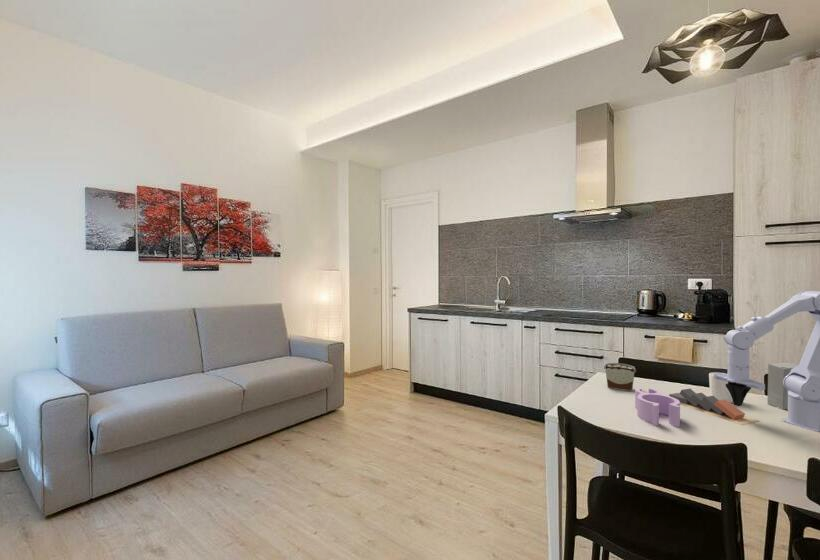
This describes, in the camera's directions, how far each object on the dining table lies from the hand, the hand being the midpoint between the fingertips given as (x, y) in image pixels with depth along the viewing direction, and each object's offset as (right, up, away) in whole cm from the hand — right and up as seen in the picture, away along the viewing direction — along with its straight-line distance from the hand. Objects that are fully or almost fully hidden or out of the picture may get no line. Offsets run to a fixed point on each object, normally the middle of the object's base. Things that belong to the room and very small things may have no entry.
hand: (738, 405), depth 134 cm
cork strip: (-3, -5, +9) cm, 10 cm away
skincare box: (+27, -4, +11) cm, 30 cm away
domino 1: (-5, -3, +15) cm, 16 cm away
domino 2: (-4, -4, +12) cm, 13 cm away
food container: (-20, -4, +38) cm, 43 cm away
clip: (-25, -6, +5) cm, 26 cm away
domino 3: (-2, -4, +8) cm, 9 cm away
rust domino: (0, -4, 0) cm, 4 cm away
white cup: (+10, -4, +19) cm, 22 cm away
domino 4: (-1, -4, +4) cm, 5 cm away
